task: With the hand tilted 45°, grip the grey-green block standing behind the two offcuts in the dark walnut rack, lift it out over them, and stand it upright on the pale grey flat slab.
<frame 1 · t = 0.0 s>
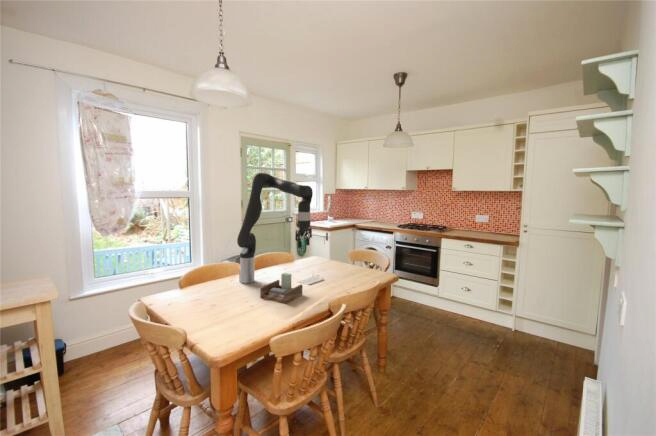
hand: (303, 246, 169), 29 cm above the table, tool pointing down, fingers open, 8 cm apart
rack: (281, 298, 165), on the table
offcut long: (279, 297, 163), point 1 cm above the table, touching offcut short, rack
grey-green block: (286, 293, 169), point 1 cm above the table, touching rack
offcut short: (278, 293, 163), point 4 cm above the table, touching offcut long
pale grey flat slab: (302, 284, 191), on the table
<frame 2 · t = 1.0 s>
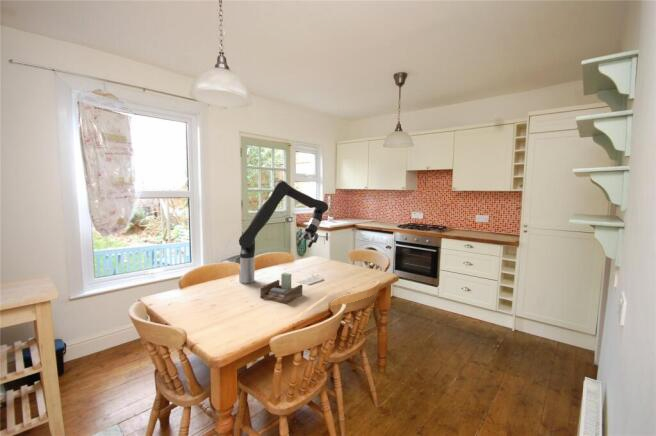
hand: (303, 246, 181), 27 cm above the table, tool tilted 45°, fingers open, 8 cm apart
nothing on the table moved.
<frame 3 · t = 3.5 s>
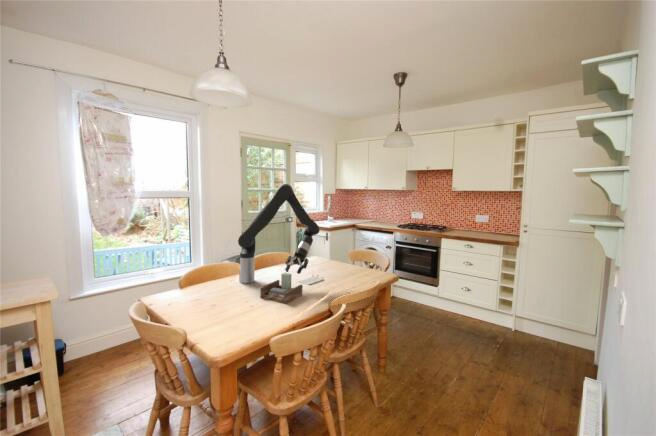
hand: (292, 272, 173), 13 cm above the table, tool tilted 45°, fingers open, 8 cm apart
nothing on the table moved.
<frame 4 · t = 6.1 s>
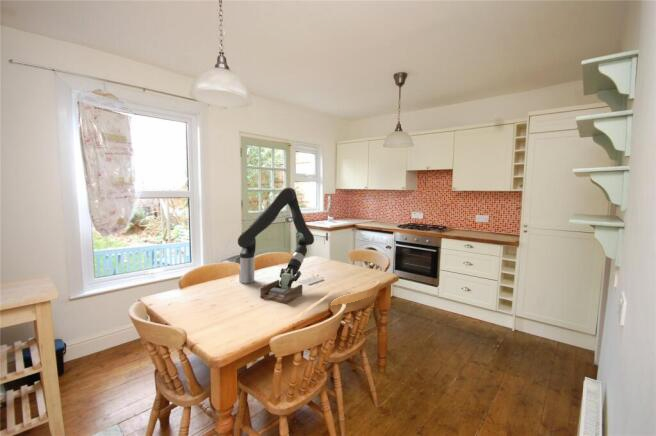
hand: (284, 285, 166), 7 cm above the table, tool tilted 45°, fingers closed on grey-green block, 5 cm apart
grey-green block: (286, 293, 169), point 1 cm above the table, touching gripper, rack
everything else where it was.
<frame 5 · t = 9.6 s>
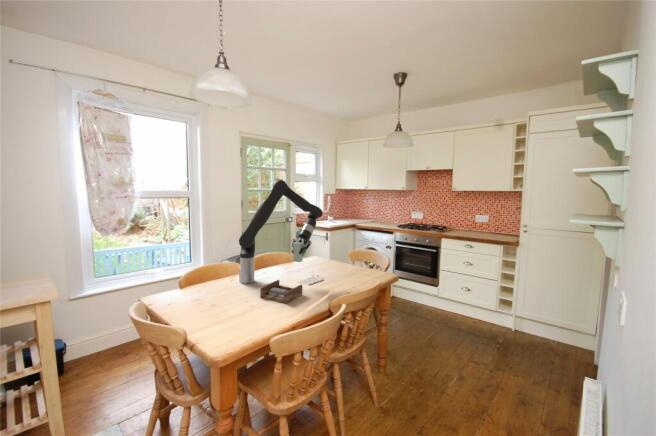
hand: (296, 253, 181), 22 cm above the table, tool tilted 45°, fingers closed on grey-green block, 5 cm apart
grey-green block: (297, 261, 183), point 17 cm above the table, touching gripper
everything else where it was.
when the fingers open (10 cm above the table, at t = 13.0 s): grey-green block drops 3 cm, point 1 cm above the table.
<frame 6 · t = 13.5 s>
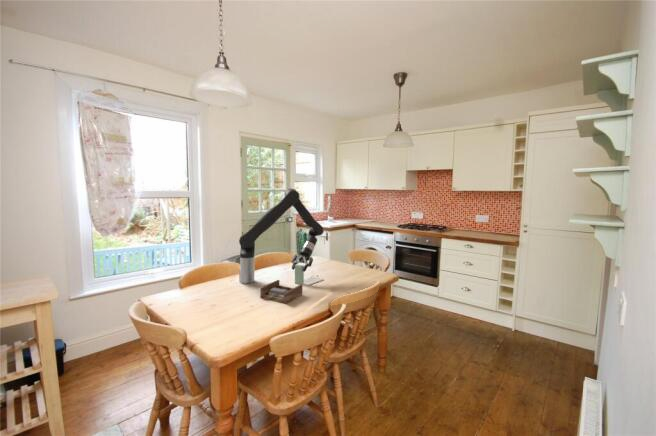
hand: (298, 270, 186), 11 cm above the table, tool tilted 45°, fingers open, 8 cm apart
grey-green block: (299, 283, 188), point 1 cm above the table
everything else where it was.
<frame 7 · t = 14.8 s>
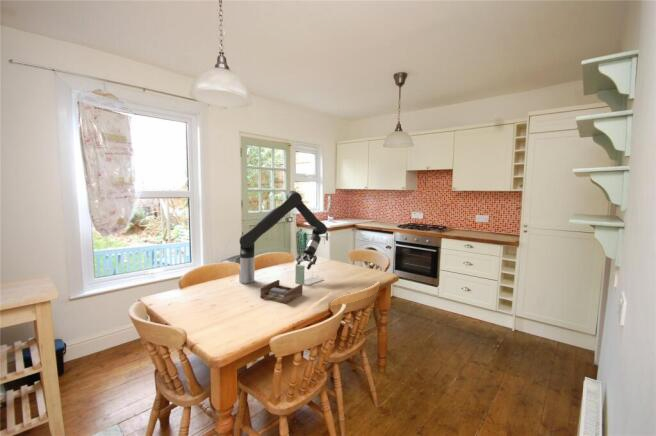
hand: (302, 268, 190), 11 cm above the table, tool tilted 45°, fingers open, 8 cm apart
grey-green block: (299, 283, 188), point 1 cm above the table, touching pale grey flat slab
pale grey flat slab: (301, 285, 191), on the table, touching grey-green block
everything else where it was.
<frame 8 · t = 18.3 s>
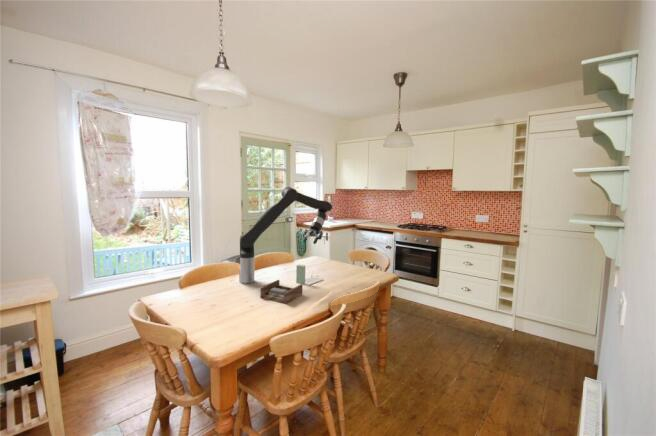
hand: (308, 242, 195), 27 cm above the table, tool tilted 45°, fingers open, 8 cm apart
grey-green block: (300, 283, 189), point 1 cm above the table
pale grey flat slab: (301, 285, 191), on the table
everything else where it was.
at the end: grey-green block inside the target area on the pale grey flat slab (1.1 cm from its centre), point 2.2 cm above the pale grey flat slab's base; grey-green block tilted 1°; the gripper is holding nothing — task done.
